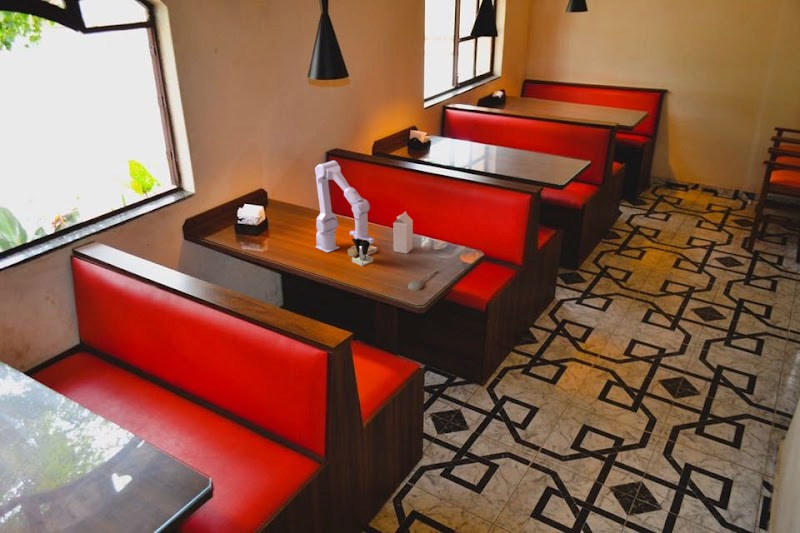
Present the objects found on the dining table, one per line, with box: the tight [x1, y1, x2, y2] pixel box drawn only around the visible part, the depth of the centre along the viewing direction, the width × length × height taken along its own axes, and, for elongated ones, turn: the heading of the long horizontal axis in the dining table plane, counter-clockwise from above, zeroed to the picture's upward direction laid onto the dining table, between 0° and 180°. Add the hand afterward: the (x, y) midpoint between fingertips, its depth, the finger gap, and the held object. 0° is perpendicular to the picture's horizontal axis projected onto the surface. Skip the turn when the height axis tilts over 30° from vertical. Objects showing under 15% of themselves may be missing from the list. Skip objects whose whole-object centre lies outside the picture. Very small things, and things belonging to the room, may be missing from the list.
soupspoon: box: [407, 268, 440, 291], centre depth 278 cm, size 22×3×7 cm
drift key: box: [347, 247, 359, 258], centre depth 303 cm, size 4×6×3 cm, turn 136°
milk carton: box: [392, 211, 414, 254], centre depth 304 cm, size 7×7×19 cm
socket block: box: [350, 244, 378, 256], centre depth 307 cm, size 10×8×2 cm
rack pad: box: [351, 255, 374, 267], centre depth 296 cm, size 7×7×2 cm
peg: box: [358, 244, 366, 261], centre depth 295 cm, size 3×3×7 cm
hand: (362, 253), depth 295 cm, fingers closed on peg, 3 cm apart
